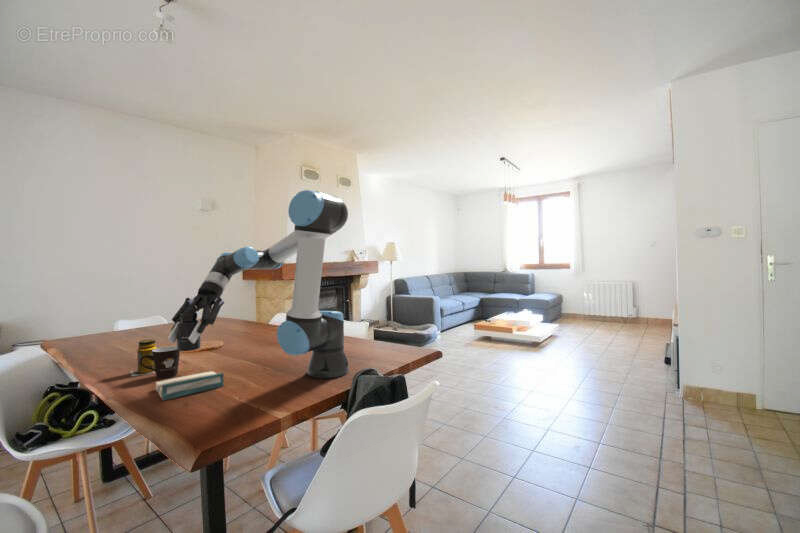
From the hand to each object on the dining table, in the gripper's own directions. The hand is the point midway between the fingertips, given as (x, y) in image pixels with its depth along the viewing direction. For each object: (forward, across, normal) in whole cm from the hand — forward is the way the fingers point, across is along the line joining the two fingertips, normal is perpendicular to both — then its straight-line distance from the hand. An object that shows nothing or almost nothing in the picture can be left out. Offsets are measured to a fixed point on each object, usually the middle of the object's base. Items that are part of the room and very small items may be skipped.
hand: (181, 340), depth 112 cm
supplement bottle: (0, 0, -5) cm, 5 cm away
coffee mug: (+2, +19, -21) cm, 28 cm away
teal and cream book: (+9, 0, -14) cm, 17 cm away
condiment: (0, +30, -24) cm, 38 cm away
